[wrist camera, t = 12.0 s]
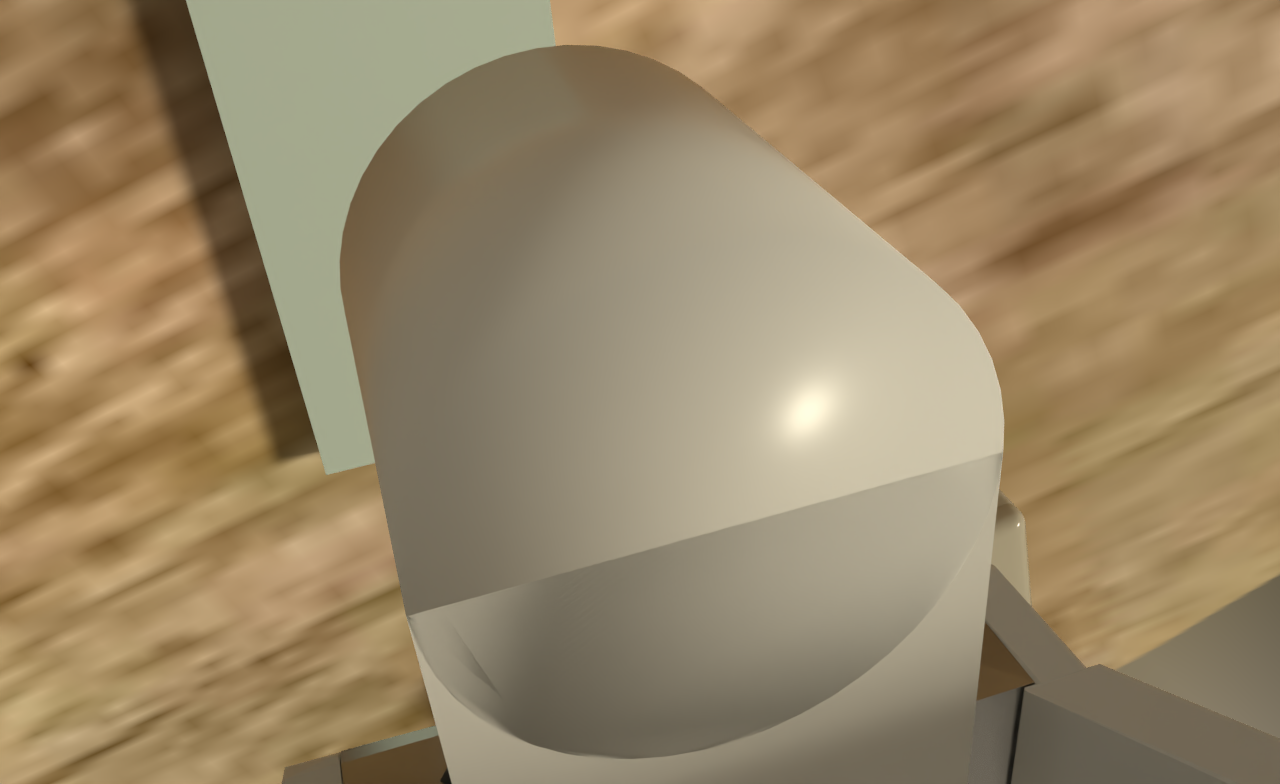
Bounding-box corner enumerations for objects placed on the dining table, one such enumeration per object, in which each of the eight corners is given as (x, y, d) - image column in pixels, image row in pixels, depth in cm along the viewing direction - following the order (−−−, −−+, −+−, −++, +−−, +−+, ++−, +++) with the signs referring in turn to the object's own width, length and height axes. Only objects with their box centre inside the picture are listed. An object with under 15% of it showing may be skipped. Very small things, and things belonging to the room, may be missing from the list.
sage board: (76, -387, 22) (70, -390, 21) (484, -423, 24) (495, -428, 23) (322, 451, 33) (325, 474, 32) (589, 386, 35) (600, 407, 34)
